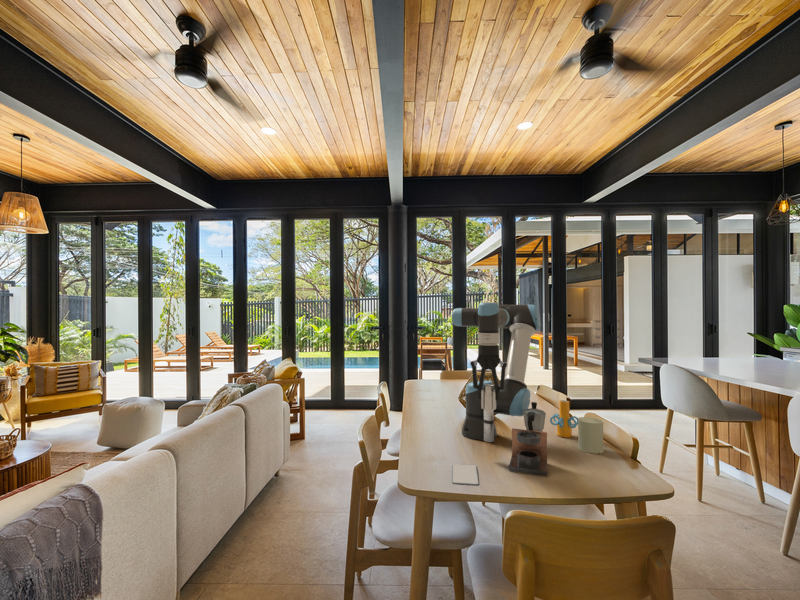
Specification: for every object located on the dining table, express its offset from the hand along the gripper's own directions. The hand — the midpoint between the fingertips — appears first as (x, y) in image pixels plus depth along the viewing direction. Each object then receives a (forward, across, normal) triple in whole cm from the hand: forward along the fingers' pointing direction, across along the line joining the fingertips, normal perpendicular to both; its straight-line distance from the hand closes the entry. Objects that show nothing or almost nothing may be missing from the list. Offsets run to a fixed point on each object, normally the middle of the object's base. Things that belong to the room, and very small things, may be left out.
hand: (488, 408), depth 142 cm
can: (+19, +36, +26) cm, 48 cm away
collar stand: (+18, +14, -2) cm, 23 cm away
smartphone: (+19, -5, -17) cm, 26 cm away
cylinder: (+19, +27, +40) cm, 52 cm away
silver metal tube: (+12, 0, 0) cm, 12 cm away
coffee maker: (+19, +15, +18) cm, 30 cm away
